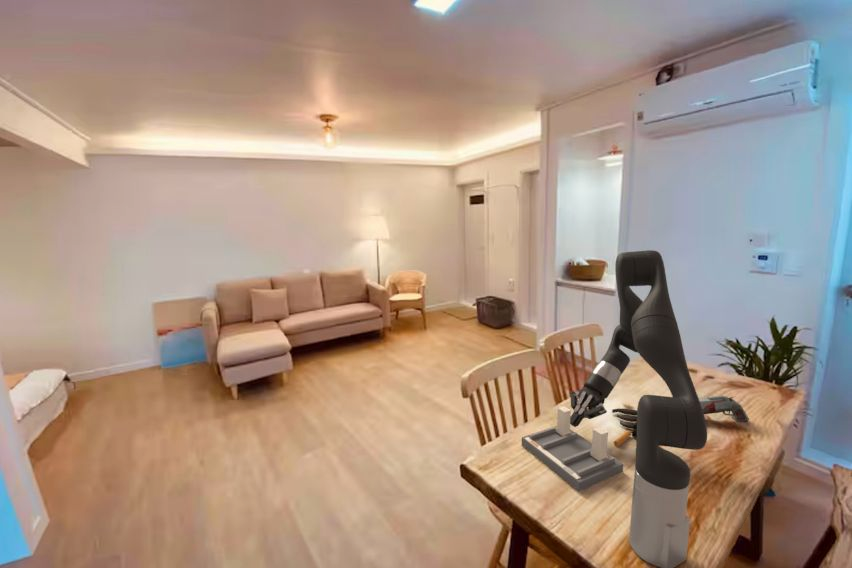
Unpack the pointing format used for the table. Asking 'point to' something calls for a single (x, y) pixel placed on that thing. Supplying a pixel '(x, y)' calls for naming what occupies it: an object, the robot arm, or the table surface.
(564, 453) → the switch box
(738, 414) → the toy gun
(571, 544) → the table surface
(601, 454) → the near tab
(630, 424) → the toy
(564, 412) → the far tab
